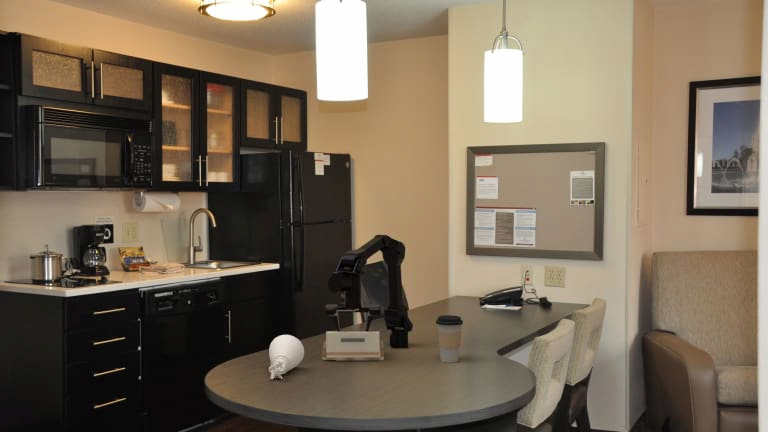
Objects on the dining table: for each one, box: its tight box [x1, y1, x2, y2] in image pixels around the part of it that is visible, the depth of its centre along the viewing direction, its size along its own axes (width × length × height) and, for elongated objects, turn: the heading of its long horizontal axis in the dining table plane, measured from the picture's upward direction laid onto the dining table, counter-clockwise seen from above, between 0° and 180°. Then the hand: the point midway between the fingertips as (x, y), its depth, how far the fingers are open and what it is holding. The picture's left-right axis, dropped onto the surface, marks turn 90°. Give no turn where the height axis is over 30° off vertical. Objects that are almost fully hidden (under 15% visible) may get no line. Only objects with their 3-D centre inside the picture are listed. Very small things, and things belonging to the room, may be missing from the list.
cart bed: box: [321, 340, 385, 361], centre depth 254 cm, size 21×12×4 cm, turn 91°
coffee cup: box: [435, 314, 464, 363], centre depth 248 cm, size 9×9×15 cm
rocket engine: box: [268, 334, 305, 380], centre depth 228 cm, size 12×12×18 cm
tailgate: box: [325, 330, 380, 358], centre depth 245 cm, size 18×2×9 cm, turn 91°
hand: (352, 334), depth 246 cm, fingers open, 9 cm apart
